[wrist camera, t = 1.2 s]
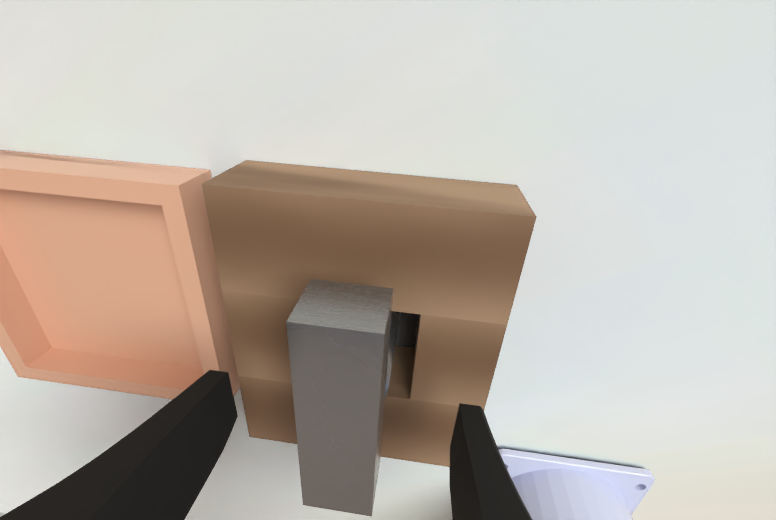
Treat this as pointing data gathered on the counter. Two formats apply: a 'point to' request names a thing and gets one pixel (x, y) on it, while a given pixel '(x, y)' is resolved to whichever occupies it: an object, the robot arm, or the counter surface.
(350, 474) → the T-key
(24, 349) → the terracotta dish
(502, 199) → the plate
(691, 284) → the counter surface
